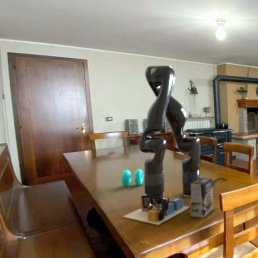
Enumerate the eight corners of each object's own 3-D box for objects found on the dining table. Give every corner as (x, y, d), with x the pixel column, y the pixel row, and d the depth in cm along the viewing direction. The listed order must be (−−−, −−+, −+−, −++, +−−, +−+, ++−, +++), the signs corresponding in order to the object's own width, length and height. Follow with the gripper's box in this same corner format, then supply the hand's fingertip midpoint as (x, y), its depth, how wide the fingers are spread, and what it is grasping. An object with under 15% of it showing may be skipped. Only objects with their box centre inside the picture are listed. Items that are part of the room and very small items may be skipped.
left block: (149, 207, 121) (149, 198, 120) (156, 208, 119) (155, 199, 119) (141, 210, 117) (141, 201, 116) (148, 212, 115) (148, 203, 115)
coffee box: (203, 218, 111) (203, 184, 109) (190, 217, 112) (190, 183, 110) (213, 210, 120) (212, 178, 118) (201, 209, 121) (200, 177, 119)
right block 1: (166, 210, 117) (166, 201, 117) (174, 212, 116) (173, 203, 115) (159, 214, 113) (158, 205, 113) (166, 216, 112) (166, 206, 111)
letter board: (157, 201, 129) (157, 200, 128) (189, 208, 122) (189, 207, 122) (122, 217, 111) (122, 216, 111) (158, 226, 104) (158, 224, 104)
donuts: (140, 187, 150) (139, 171, 149) (121, 188, 147) (120, 172, 146) (144, 182, 159) (143, 167, 158) (126, 183, 156) (125, 168, 155)
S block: (156, 216, 111) (155, 206, 111) (163, 217, 110) (163, 208, 109) (147, 220, 107) (147, 210, 107) (155, 222, 106) (155, 212, 105)
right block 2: (176, 205, 123) (176, 197, 122) (183, 207, 121) (183, 198, 121) (169, 209, 119) (169, 200, 118) (176, 210, 117) (176, 201, 117)
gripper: (174, 181, 108) (175, 218, 110) (149, 177, 113) (150, 212, 114) (160, 186, 101) (161, 225, 103) (134, 182, 106) (136, 220, 107)
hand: (155, 218), depth 109 cm, fingers open, 5 cm apart
